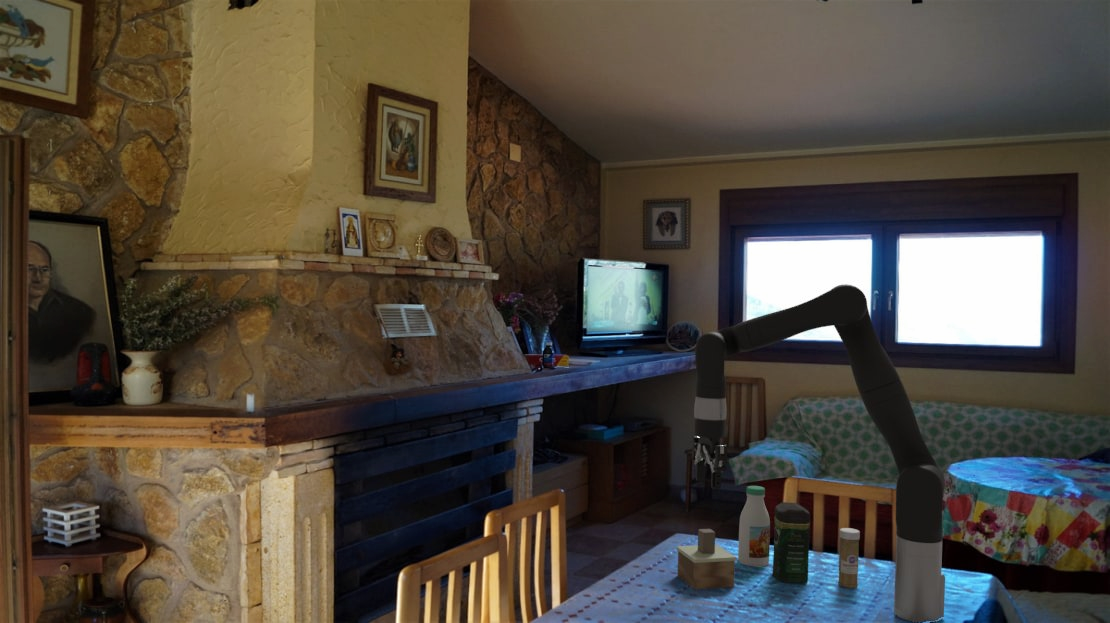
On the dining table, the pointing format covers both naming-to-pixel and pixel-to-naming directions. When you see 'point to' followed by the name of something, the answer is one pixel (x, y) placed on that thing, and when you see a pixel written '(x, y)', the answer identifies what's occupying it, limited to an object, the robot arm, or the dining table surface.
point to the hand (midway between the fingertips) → (708, 484)
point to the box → (706, 573)
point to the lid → (706, 549)
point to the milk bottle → (754, 529)
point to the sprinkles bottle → (848, 557)
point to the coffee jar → (791, 543)
